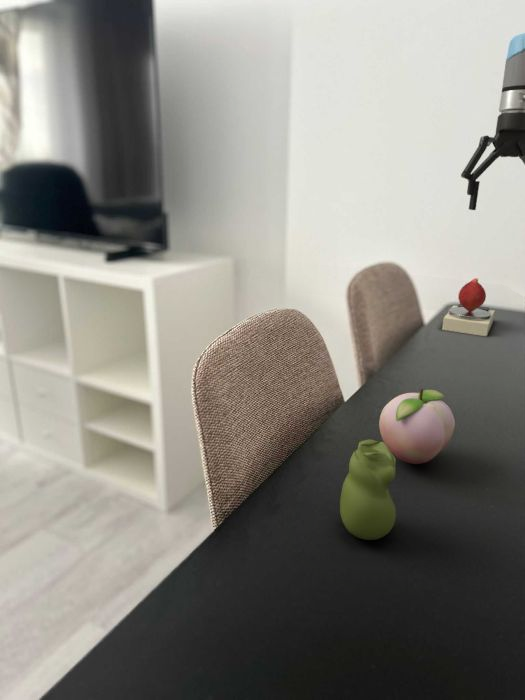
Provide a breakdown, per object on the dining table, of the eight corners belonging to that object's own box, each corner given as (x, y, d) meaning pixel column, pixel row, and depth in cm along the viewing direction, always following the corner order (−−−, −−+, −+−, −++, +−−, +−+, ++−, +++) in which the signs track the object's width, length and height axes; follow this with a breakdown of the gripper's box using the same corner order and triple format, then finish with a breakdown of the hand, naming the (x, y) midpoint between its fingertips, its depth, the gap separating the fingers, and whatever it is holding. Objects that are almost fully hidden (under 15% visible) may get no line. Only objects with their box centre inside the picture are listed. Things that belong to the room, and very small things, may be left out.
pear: (332, 516, 53) (339, 430, 50) (382, 514, 54) (392, 428, 50) (346, 553, 48) (354, 460, 45) (401, 551, 48) (413, 458, 45)
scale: (452, 316, 130) (454, 302, 129) (492, 322, 126) (495, 308, 125) (441, 330, 119) (444, 315, 117) (486, 337, 114) (489, 321, 113)
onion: (457, 313, 118) (463, 279, 115) (455, 307, 123) (460, 274, 120) (484, 315, 117) (490, 281, 114) (480, 309, 122) (486, 276, 119)
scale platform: (452, 308, 126) (452, 305, 126) (492, 313, 122) (492, 310, 122) (445, 316, 118) (445, 313, 118) (488, 322, 114) (488, 319, 114)
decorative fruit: (396, 437, 69) (404, 368, 66) (456, 459, 64) (468, 386, 61) (361, 465, 63) (368, 390, 59) (425, 491, 58) (436, 411, 54)
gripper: (465, 110, 113) (452, 210, 120) (581, 111, 112) (562, 212, 119) (455, 114, 120) (443, 208, 127) (564, 115, 119) (547, 210, 126)
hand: (500, 210), depth 123 cm, fingers open, 13 cm apart
